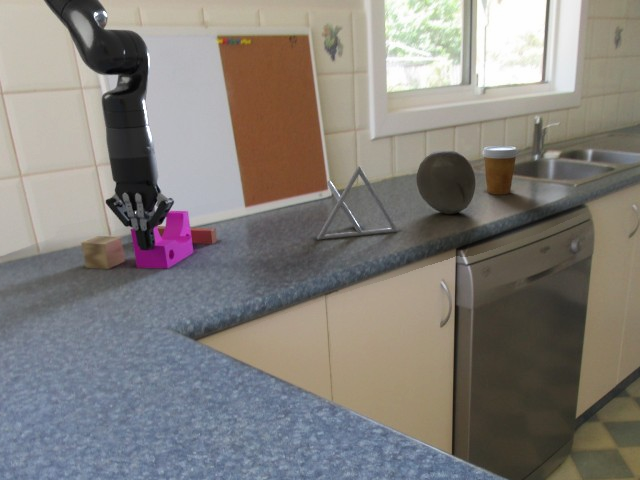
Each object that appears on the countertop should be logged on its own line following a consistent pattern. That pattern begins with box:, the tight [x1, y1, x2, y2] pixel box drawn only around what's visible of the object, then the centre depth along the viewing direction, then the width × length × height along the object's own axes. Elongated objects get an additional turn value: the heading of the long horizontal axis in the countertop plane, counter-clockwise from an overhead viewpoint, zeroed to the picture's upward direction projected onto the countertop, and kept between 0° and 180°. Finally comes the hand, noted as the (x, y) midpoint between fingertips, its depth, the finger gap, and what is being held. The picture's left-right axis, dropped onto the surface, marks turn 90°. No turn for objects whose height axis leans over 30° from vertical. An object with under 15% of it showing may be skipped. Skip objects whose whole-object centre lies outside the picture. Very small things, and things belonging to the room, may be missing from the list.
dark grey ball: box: [415, 150, 476, 215], centre depth 158 cm, size 14×14×15 cm
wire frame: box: [316, 165, 399, 241], centre depth 145 cm, size 18×13×16 cm
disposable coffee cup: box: [482, 145, 519, 195], centre depth 181 cm, size 10×10×12 cm
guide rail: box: [157, 225, 218, 245], centre depth 141 cm, size 16×2×3 cm, turn 76°
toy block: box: [130, 210, 194, 269], centre depth 129 cm, size 15×6×8 cm, turn 170°
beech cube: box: [80, 235, 126, 270], centre depth 126 cm, size 5×5×5 cm
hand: (147, 249), depth 121 cm, fingers closed
